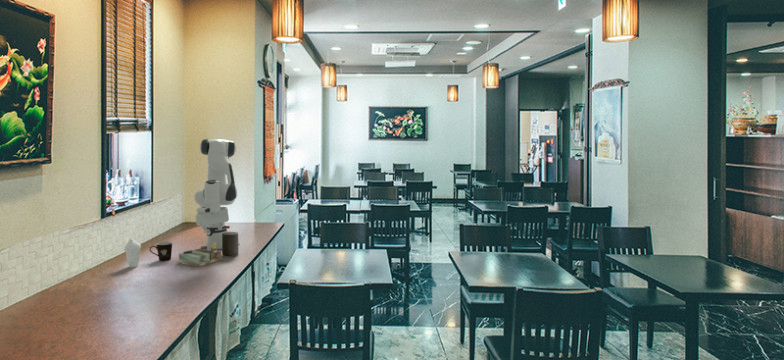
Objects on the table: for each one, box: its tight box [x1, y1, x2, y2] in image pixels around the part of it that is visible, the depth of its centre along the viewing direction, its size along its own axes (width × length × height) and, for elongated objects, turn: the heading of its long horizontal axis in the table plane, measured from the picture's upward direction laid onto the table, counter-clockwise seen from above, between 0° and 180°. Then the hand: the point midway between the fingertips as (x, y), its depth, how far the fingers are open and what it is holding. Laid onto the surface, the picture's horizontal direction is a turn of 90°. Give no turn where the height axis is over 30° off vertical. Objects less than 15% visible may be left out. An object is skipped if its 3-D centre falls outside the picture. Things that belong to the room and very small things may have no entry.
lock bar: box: [200, 243, 218, 253], centre depth 276 cm, size 12×4×5 cm, turn 58°
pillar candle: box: [221, 231, 239, 258], centre depth 289 cm, size 10×10×15 cm
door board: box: [178, 247, 222, 268], centre depth 274 cm, size 17×16×7 cm
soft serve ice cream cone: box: [123, 238, 142, 268], centre depth 262 cm, size 8×8×16 cm
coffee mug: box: [149, 241, 173, 262], centre depth 277 cm, size 12×9×10 cm
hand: (213, 231), depth 272 cm, fingers open, 8 cm apart
